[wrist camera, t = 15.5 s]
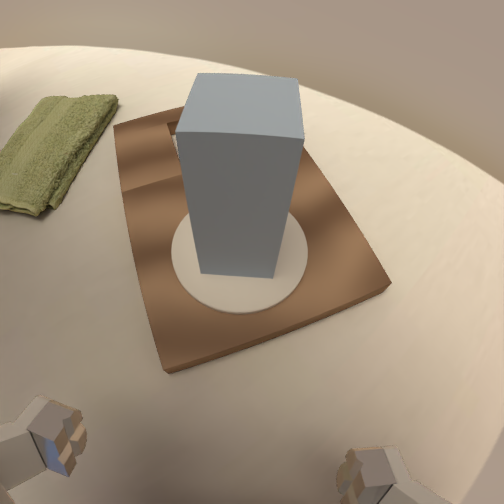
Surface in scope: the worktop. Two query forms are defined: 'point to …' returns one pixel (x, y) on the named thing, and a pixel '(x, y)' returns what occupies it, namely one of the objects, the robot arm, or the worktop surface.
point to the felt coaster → (235, 287)
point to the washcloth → (51, 150)
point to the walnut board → (175, 209)
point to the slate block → (240, 168)
